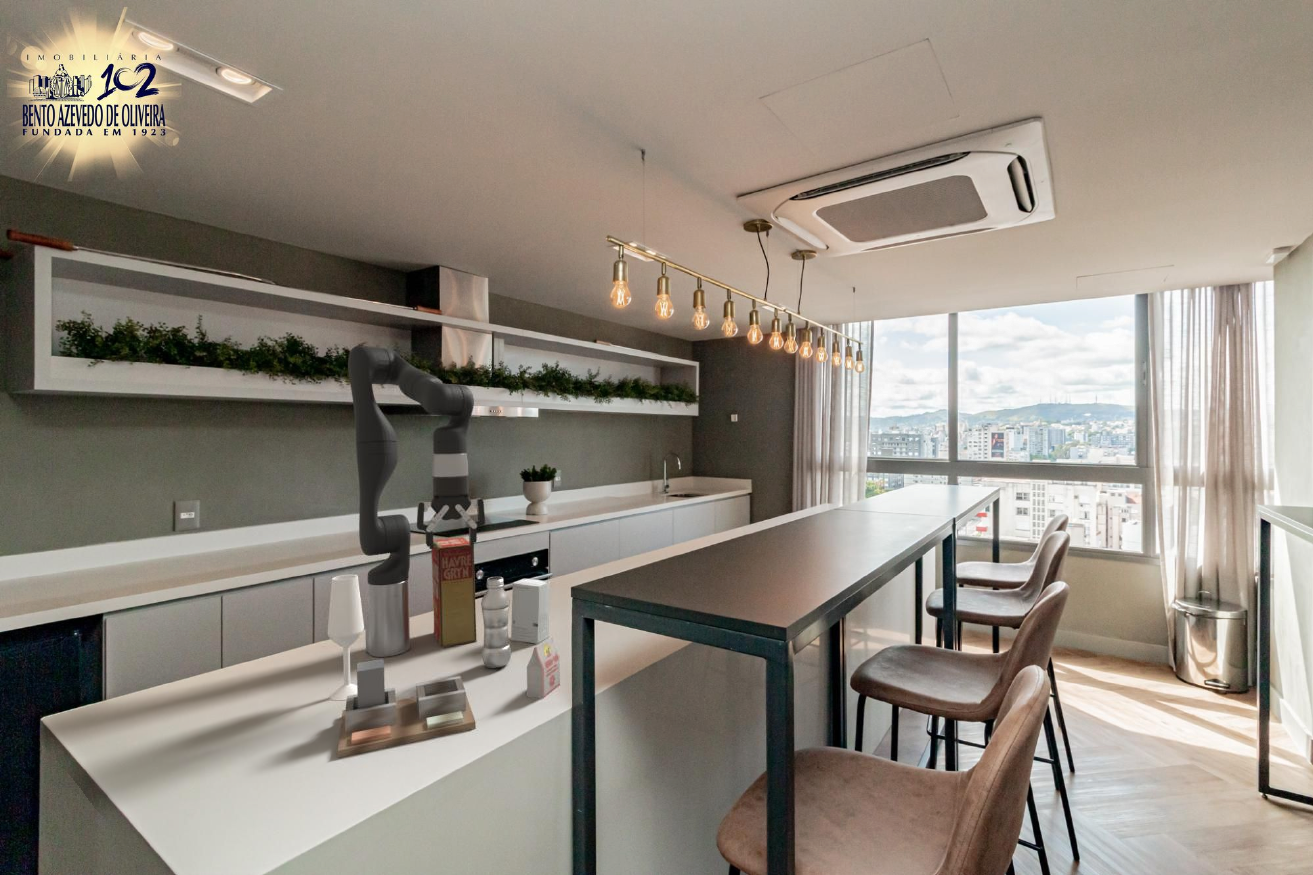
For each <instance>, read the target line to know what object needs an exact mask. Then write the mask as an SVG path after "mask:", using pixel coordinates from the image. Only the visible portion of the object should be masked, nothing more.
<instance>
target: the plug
mask: <svg viewBox="0 0 1313 875" xmlns="http://www.w3.org/2000/svg"><path fill="white" fill-rule="evenodd" d="M356 681H357V682H356V683H357V684H356V685H357V696H358V709H363V708H368V707H373V706H379V705H384V704H385V689H386V688H385V686H386V685H385V662H384V658H381V659H376V660H375V659H373V660H369V661H367V660H366V661H363V662H357V664H356Z"/></svg>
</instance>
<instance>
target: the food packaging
mask: <svg viewBox="0 0 1313 875" xmlns="http://www.w3.org/2000/svg"><path fill="white" fill-rule="evenodd" d="M430 550H431V574H432V580H431V581H432V600H433V601H432V602H433V604H432V605H433V635H434V636H435V639H436V641H437V643H438V646H439V647H440V648H441V649H443V648H447V647H448V646H449V647H453V646H454V645H455V646H460V645H465V644H470V643H475V642H477V620H476V619H477V616H476V580H475V578H476V577H475V544H474V545H472V546H470V544H469V539H466V538H465V537H464V536H463V537H452V538H443V539H442V538H441V539H433V549H430ZM442 647H443V648H442Z"/></svg>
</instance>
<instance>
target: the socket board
mask: <svg viewBox="0 0 1313 875" xmlns="http://www.w3.org/2000/svg"><path fill="white" fill-rule="evenodd" d="M415 685H416V689H415V690H416V691H415V692H416V695H415V696H414V697H413V696H412V697H408V698H401V699H397V696H396V687H391V688H390V687H389V688H385V704H384V705H379V706H373V707H368V708H363V709H358V696H357V694H356V695H350V696H347V700H345V709H343V710H341V711H342V712H341V720H340V728H339V729H340V731H339V736H338V746H337V747H338V748H337V758H338V759H339V758H343V757H348V756H354V755H358V754H364V753H366V752H367V753H368V752H371V751H377V750H382V749H385V748H391V747H395V746H400V745H404V744H405V745H406V744H408V743H414V742H418V741H424V740H427V739H432V738H437V737H443V736H447V735H450V734H455V733H460V732H465V731H471V730H474V729H476V720H475V716H474V714H473V710H472V708H471V705H470V702H469V700H468V697H467V692H466V688H465V686H464V683H463V680H462V677H461V675H459V676H452V677H448V678H440V679H435V680H429V681H424V682H419V683H415Z"/></svg>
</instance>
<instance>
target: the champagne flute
mask: <svg viewBox="0 0 1313 875" xmlns="http://www.w3.org/2000/svg"><path fill="white" fill-rule="evenodd" d="M330 588H331V589H330V597H329V598H330V600H329V601H330V602H329V609H328V610H329V611H328V620H327V621H328V622H327V624H328V625H327V636H328V637H329V640H331V641H332V642H333V643H334V644H336V645H337V646H339V647H342V651H343V652H342V653H343V655H342V656H343V658H342V660H343V684H342V685H341V686H340V687H339V688H337V689H335V690H334V691H333V692H331V693H330V694H329V696H328V698H329V699H330V700H331V701H346V700H347V696H350V695H356V694H357V684H354V683H351V654H350V651H351V650H350V649H351V648H350V647H351V646H352V645H353V644H355V642H357V640H358V639H359V638H360V637H361V635H362V634H363V632H364V630H365V623H364V615H363V607H362V600H361V594H360V593H361V592H360V583H359V575H358V574H340V575H338V576H334V577H332V578H331V586H330Z"/></svg>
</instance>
